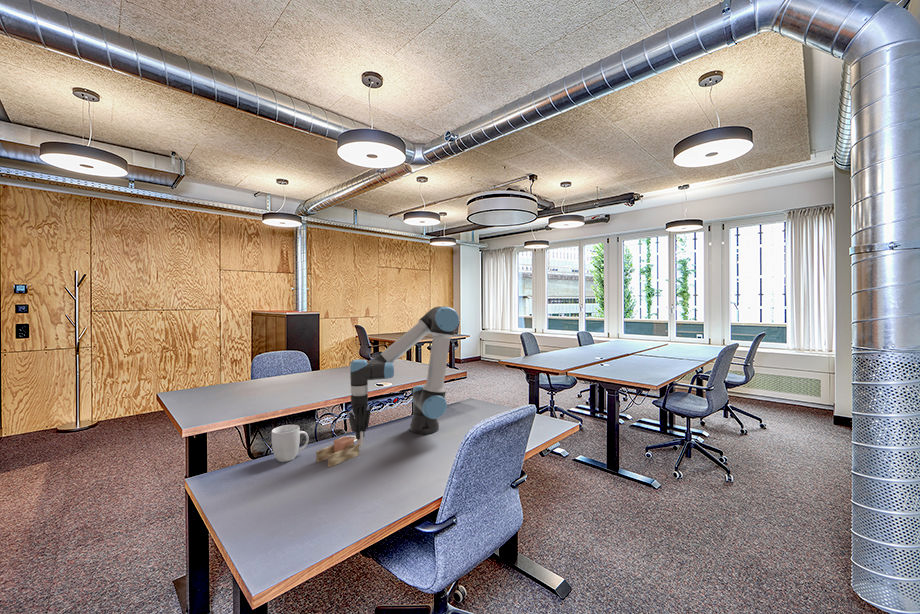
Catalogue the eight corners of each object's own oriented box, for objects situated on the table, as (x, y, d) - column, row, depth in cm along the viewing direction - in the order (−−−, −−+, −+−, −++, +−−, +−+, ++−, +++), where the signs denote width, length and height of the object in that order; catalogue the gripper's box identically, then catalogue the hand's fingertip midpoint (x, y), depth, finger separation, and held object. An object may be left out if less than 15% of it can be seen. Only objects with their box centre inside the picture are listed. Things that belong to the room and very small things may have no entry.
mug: (305, 449, 171) (304, 420, 171) (312, 456, 163) (312, 427, 162) (269, 458, 162) (268, 428, 161) (275, 466, 153) (274, 435, 153)
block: (345, 451, 167) (345, 436, 167) (354, 454, 164) (353, 439, 164) (334, 456, 162) (333, 440, 162) (342, 459, 159) (342, 443, 159)
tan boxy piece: (345, 449, 170) (345, 437, 170) (360, 454, 164) (359, 442, 164) (315, 461, 158) (315, 448, 158) (330, 467, 152) (330, 453, 151)
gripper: (365, 390, 177) (366, 439, 178) (342, 395, 167) (343, 448, 167) (375, 392, 173) (376, 442, 173) (352, 398, 162) (353, 452, 163)
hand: (360, 445), depth 170 cm, fingers closed
